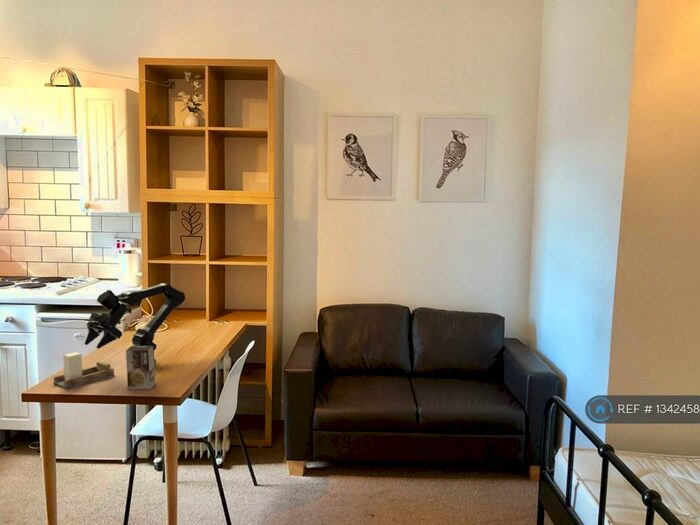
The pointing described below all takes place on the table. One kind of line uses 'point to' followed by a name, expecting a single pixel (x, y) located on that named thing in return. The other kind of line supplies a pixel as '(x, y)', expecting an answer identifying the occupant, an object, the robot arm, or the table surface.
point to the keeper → (72, 366)
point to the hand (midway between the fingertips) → (91, 346)
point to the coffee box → (140, 367)
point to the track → (86, 375)
